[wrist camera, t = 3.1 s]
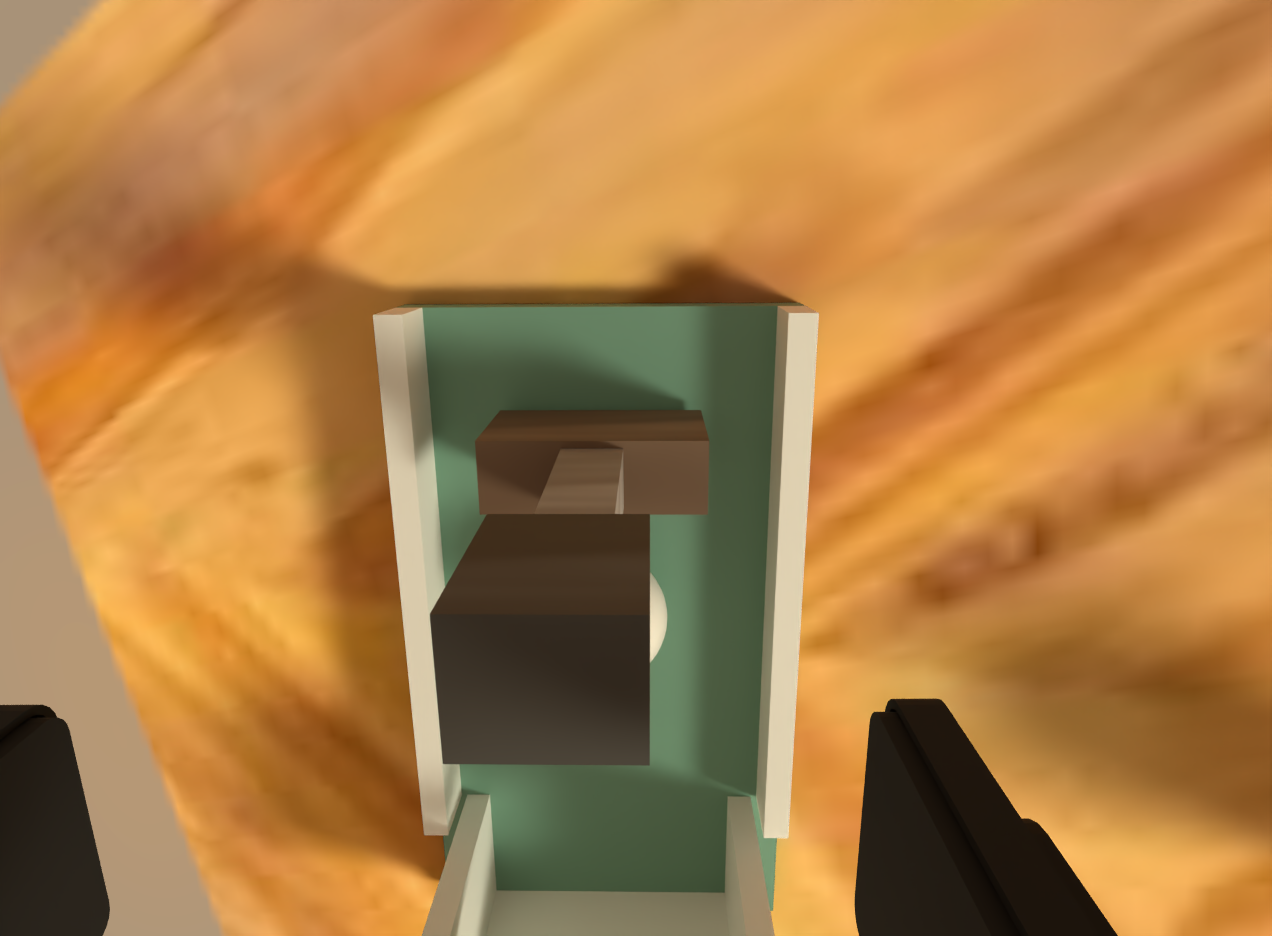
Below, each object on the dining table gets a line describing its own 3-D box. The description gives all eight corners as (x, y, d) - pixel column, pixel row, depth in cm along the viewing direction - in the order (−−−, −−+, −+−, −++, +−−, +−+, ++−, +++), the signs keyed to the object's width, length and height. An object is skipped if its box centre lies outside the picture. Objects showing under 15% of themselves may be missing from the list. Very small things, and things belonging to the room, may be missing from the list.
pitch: (405, 304, 25) (294, 340, 17) (799, 302, 24) (866, 337, 17) (455, 886, 31) (391, 1103, 23) (769, 889, 31) (808, 1109, 23)
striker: (499, 403, 24) (320, 613, 11) (701, 403, 24) (760, 615, 11) (504, 480, 25) (340, 763, 12) (699, 480, 25) (754, 766, 12)
